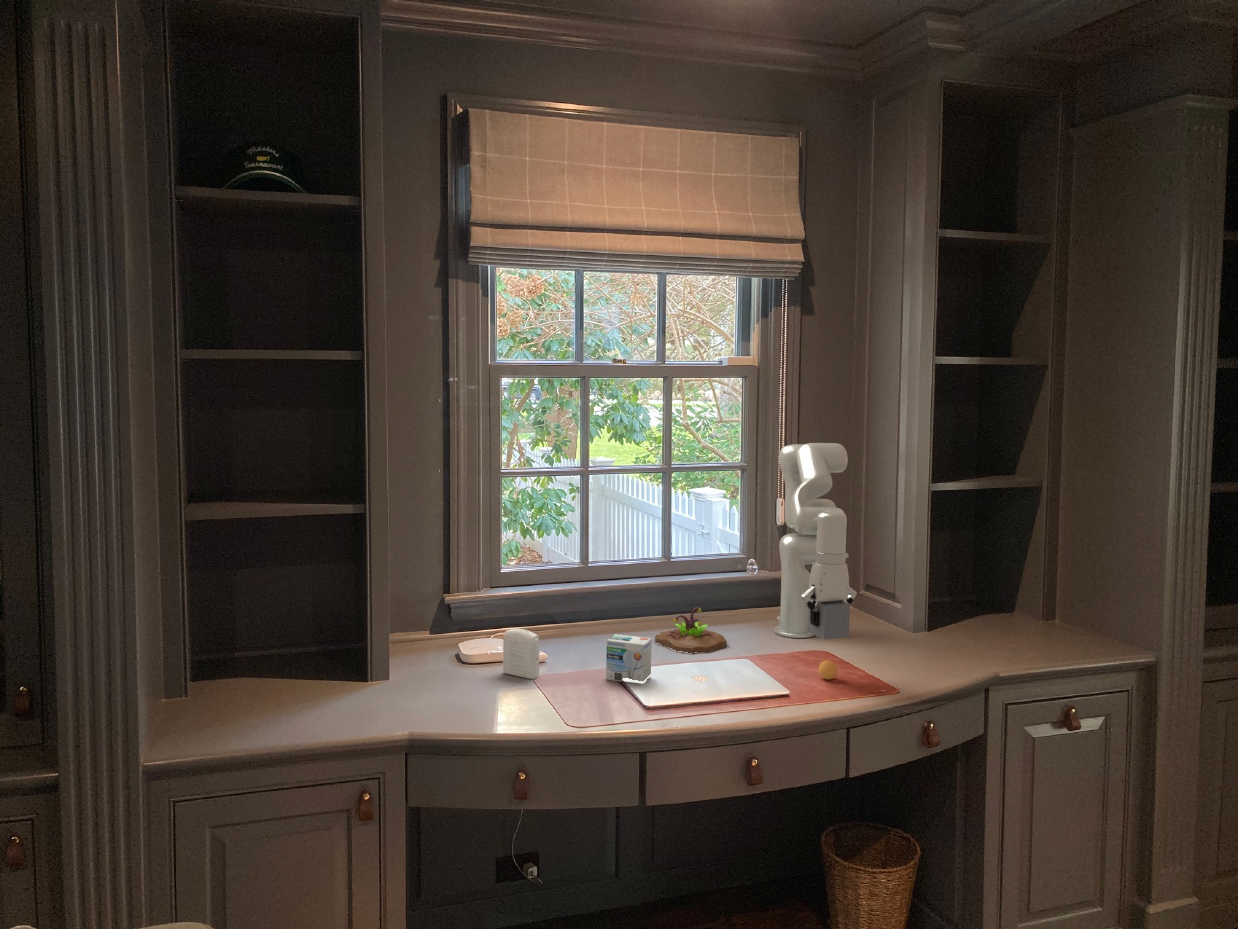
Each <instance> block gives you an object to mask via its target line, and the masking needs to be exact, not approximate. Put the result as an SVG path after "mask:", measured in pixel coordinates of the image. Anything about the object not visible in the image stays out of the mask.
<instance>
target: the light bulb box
mask: <svg viewBox="0 0 1238 929" xmlns="http://www.w3.org/2000/svg"><path fill="white" fill-rule="evenodd" d="M652 641H653V640H652V638H651V637H642V636H636V635H635V636H634V635H633V636H632V635H625V634H617V633H614V634H613V635H612V636H611V637H610V638H608V639H607V640H606V656H605V657H606V659H605V660H606V661H605V662H606V664H605V680H607V681H613V682H620V683H622V682H621V679H623V678H629V679H632V680H638V681H644V680H645V679H646V678H647V677H648V676H649V675H650V674H651V675H652V646H653V644H652Z"/></svg>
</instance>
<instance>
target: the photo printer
mask: <svg viewBox="0 0 1238 929" xmlns="http://www.w3.org/2000/svg"><path fill="white" fill-rule="evenodd" d="M502 648H503V649H502V652H503V653H502V654H503V655H502V658H503V659H502V671H503V673H504V674H506V675H511V676H516V677H520V678H525V679H528V680H529V679H530V680H534V679H537V678H538V677H539V674H540V638H539V635H538V634H536V633H534V632H532V631H531V630H528V629H522V628H511V629H508V630H507V629H506V631H505V632H504V634H503V647H502Z"/></svg>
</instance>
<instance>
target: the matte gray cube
mask: <svg viewBox="0 0 1238 929" xmlns="http://www.w3.org/2000/svg"><path fill="white" fill-rule="evenodd" d="M810 601H812V599H810ZM815 604H816V602H815ZM818 611H819V613H820V616H819V626H818V627H816V626H814V625H812V624H811V622H810V609H809V608H808V632H809V633H811V634H813V635H814V636H815V637H818V638H820V639H822V640H831V639H840V638H841V639H842V638H849V637H850V621H851V620H850V618H851V616H850V615H851V604H849V603H846V602H842V601H836V602H823V603H822V604H820V607H819V609H818Z"/></svg>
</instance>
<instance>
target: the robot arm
mask: <svg viewBox="0 0 1238 929" xmlns="http://www.w3.org/2000/svg"><path fill="white" fill-rule="evenodd" d="M848 458H849V457H848V452H847V450H846V448H845V447H844V445H842V444H841V443H835V442H808V443H803V444H802V443H797V444H788V445H787V444H786V445H784V446H783V447H782V448H781V449H780V451H779V467H780V471H781V474H782V476H783V479H784V486H785V489H784V490H785V491H784V492H785V494H784V495H785V496H784V520H785V524H786V526H787V527H789V528H790V529H794V530H795V532H794V533H793V532H792V533H787V534H785V535H783V536H782V537H781V538H780V540H779V544H778V545H779V558H780V566H781V569H780V572H781V576H780V578H781V580H780V583H781V585H780V608H779V609H780V612H779V613H780V614H779V615H778V616H777V617H776V620H777V621H779V624H778V625H777V626H775V627H774V632H775V634H777V635H778V636H782V637H787V638H790V639H791V638H793V639H806V638H812V637H814V636H815V635H813V634H811V633H809V632H808V608H809V609H810V622H811V624H812V625H814V626H816V627H818V626H819V616H820V613H819V611H818V609H819V607H820V604H822V603H823V602H836V601H842V602H846V603H849V604H850V605H852V603H853V602H854V600H855V598H856V597H857V594H858V592H857V591H856V590H854V589H853V588H852V587H851V586H850V577H849V570H848V564H847V563H846V559H848V558H849V553H847V551H846V545H847V522H848V520H847V515H846V513H845V512H844V510H843V509H841V508H839V507H837V506H836V504H835V502H833V500H831V499H828V498H827V499H826V498H820V497H822V496H825V494H827V493H829V492H830V490H831V489H832V487H833V479H832V475H831V474H832V473H833V474H835V473H836V474H837V473H843V472H844V471H845V470H846V469H847V466H848V461H849V459H848ZM805 565H812V567H811V569H810V570H811V571H810V572H809V570H807V569H806V567H805ZM810 599H812V601H810ZM815 602H816V604H815Z"/></svg>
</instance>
